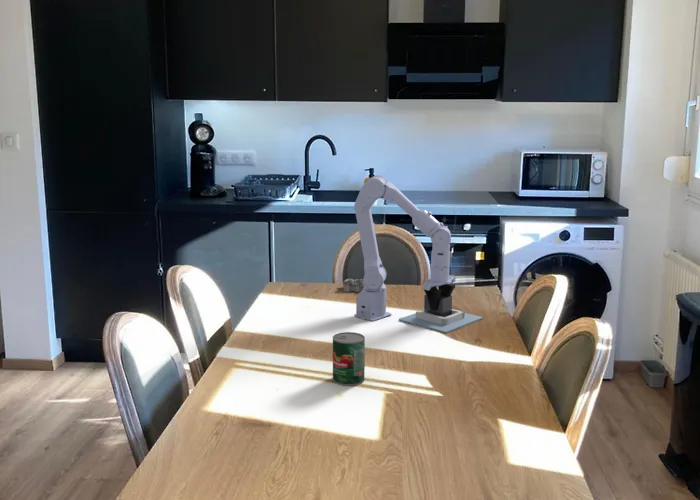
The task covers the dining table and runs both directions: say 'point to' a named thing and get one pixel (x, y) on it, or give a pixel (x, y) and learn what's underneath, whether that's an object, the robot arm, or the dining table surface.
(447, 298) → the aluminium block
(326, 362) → the dining table surface
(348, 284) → the egg carton
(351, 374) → the canned tomato
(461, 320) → the coupler cradle
